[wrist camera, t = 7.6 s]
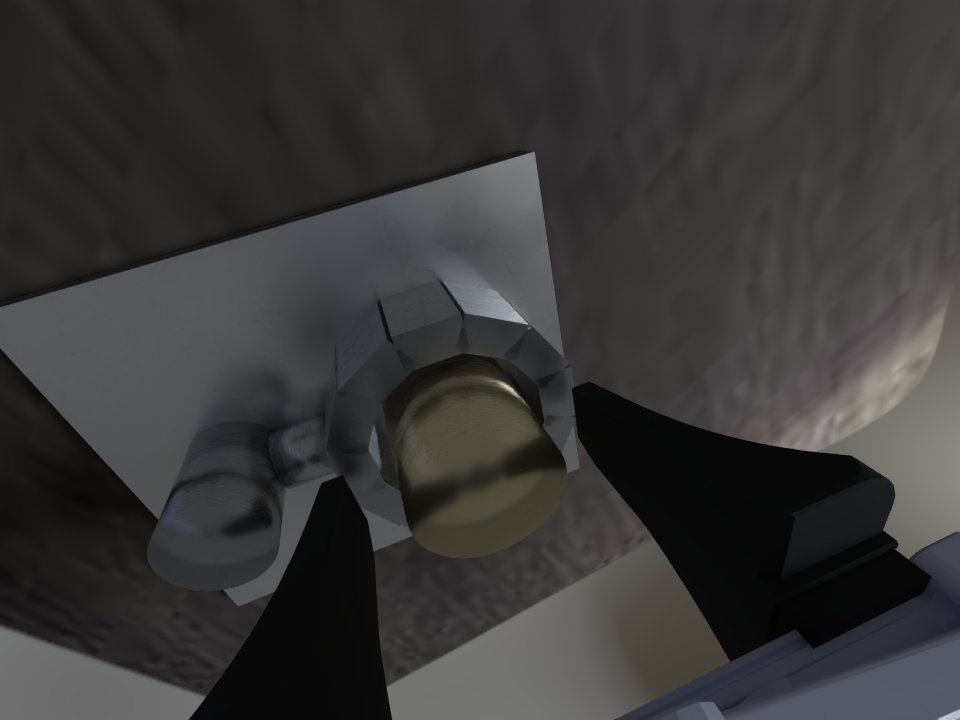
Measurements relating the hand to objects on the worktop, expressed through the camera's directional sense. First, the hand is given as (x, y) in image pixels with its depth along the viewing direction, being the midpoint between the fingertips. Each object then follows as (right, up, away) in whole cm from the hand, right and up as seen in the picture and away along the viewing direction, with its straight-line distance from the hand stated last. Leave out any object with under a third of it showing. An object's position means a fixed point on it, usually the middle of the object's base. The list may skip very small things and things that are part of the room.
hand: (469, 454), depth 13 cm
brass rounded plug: (-1, +2, +3) cm, 4 cm away
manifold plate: (-4, +1, +4) cm, 6 cm away
